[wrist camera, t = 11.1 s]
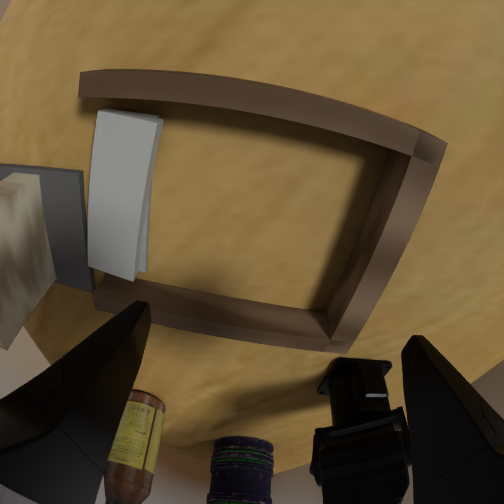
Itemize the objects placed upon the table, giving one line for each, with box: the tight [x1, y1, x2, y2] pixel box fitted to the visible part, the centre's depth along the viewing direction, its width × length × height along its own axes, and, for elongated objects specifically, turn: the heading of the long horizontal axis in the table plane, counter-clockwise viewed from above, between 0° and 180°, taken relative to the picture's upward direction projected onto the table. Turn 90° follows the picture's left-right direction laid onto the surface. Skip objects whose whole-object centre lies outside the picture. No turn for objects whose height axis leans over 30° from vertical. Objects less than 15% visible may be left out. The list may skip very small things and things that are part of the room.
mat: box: [0, 163, 96, 292], centre depth 21 cm, size 11×11×1 cm
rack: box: [78, 69, 448, 354], centre depth 19 cm, size 18×20×3 cm
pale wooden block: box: [0, 173, 57, 350], centre depth 17 cm, size 10×3×9 cm, turn 170°
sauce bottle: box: [103, 391, 165, 504], centre depth 28 cm, size 6×6×20 cm
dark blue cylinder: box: [207, 436, 274, 504], centre depth 37 cm, size 10×10×15 cm
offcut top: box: [88, 108, 164, 282], centre depth 19 cm, size 12×4×1 cm, turn 162°
